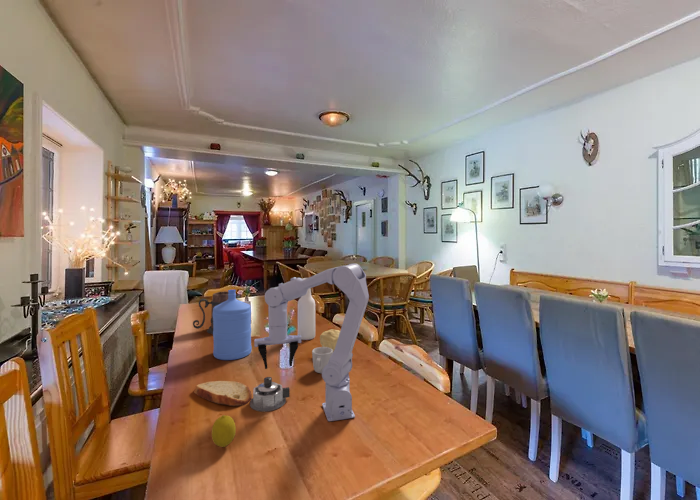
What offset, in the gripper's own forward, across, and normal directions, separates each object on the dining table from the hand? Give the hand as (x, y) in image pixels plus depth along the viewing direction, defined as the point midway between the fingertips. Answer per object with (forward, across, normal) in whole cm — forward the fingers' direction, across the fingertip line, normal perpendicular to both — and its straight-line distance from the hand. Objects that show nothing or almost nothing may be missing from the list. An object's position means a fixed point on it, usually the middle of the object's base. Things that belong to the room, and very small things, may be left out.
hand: (278, 366), depth 104 cm
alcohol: (+10, -18, -57) cm, 60 cm away
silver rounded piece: (+9, +3, +2) cm, 10 cm away
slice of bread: (+11, +18, -6) cm, 22 cm away
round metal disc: (+10, +3, +2) cm, 11 cm away
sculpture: (+11, -26, -32) cm, 42 cm away
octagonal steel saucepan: (+10, +2, +2) cm, 10 cm away
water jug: (+10, +17, -43) cm, 48 cm away
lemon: (+10, +15, +21) cm, 27 cm away
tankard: (+10, +27, -82) cm, 87 cm away
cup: (+11, -17, -15) cm, 25 cm away
